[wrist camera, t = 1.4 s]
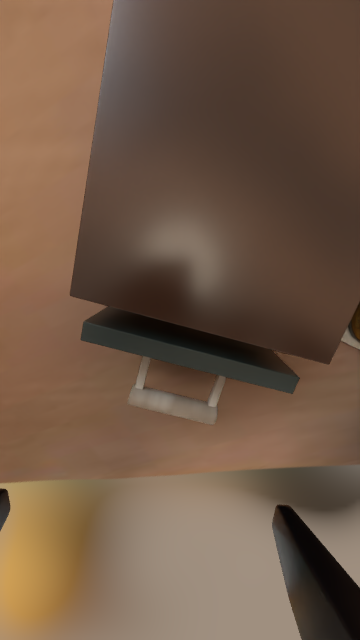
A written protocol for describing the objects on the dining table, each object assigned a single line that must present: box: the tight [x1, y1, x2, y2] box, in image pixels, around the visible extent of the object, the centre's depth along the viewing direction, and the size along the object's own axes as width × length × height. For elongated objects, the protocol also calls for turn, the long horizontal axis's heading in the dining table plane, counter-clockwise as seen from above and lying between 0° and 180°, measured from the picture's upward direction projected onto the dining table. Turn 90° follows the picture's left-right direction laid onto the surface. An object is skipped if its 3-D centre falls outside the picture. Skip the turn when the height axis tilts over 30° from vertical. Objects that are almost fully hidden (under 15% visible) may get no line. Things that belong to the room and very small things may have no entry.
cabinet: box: [70, 0, 360, 364], centre depth 14 cm, size 17×15×8 cm
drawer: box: [81, 306, 300, 425], centre depth 15 cm, size 20×13×6 cm, turn 165°
